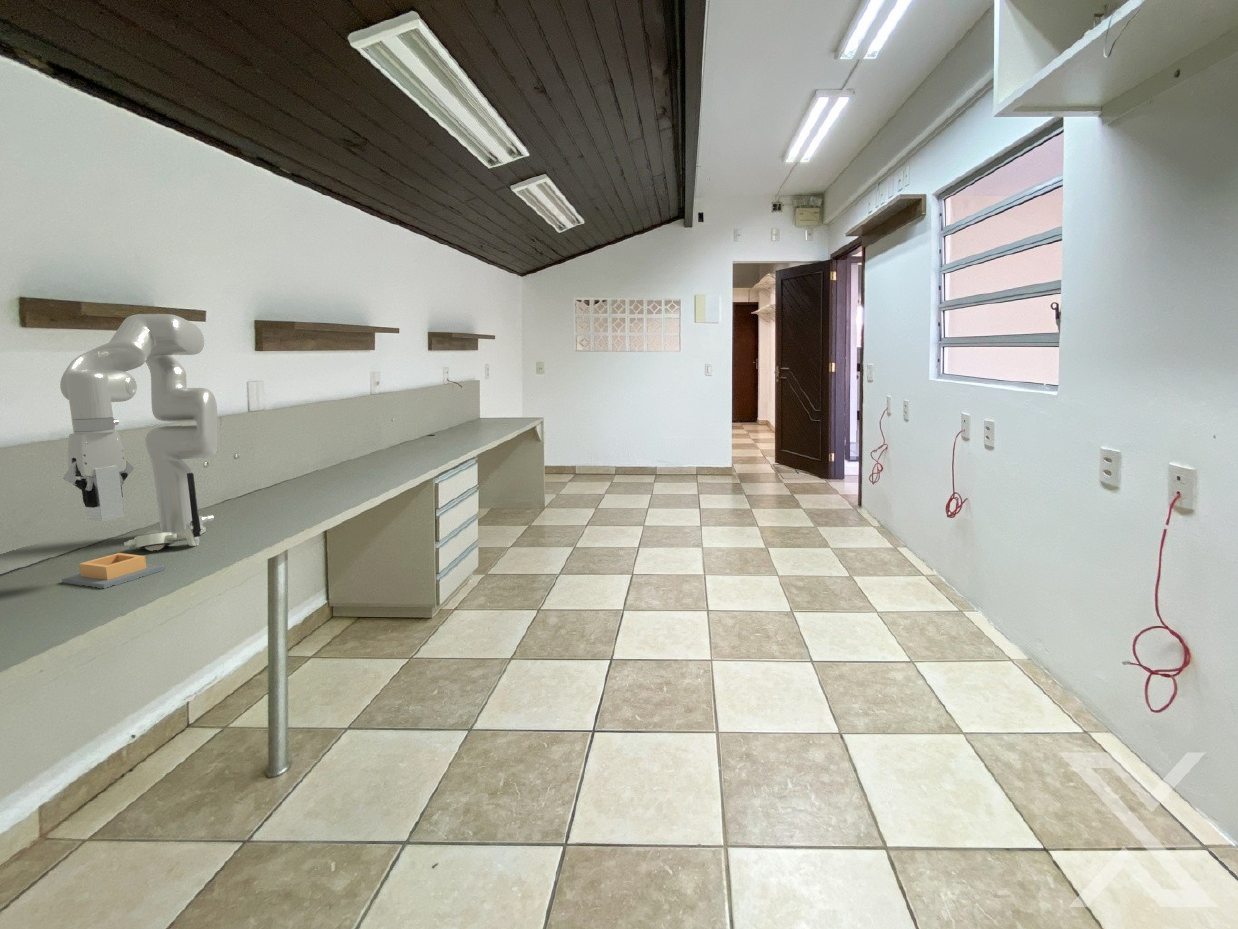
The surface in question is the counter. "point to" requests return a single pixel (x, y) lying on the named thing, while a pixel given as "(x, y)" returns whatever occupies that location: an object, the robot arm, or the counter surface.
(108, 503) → the block
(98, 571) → the collar plate
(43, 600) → the counter surface
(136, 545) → the butterfly valve
